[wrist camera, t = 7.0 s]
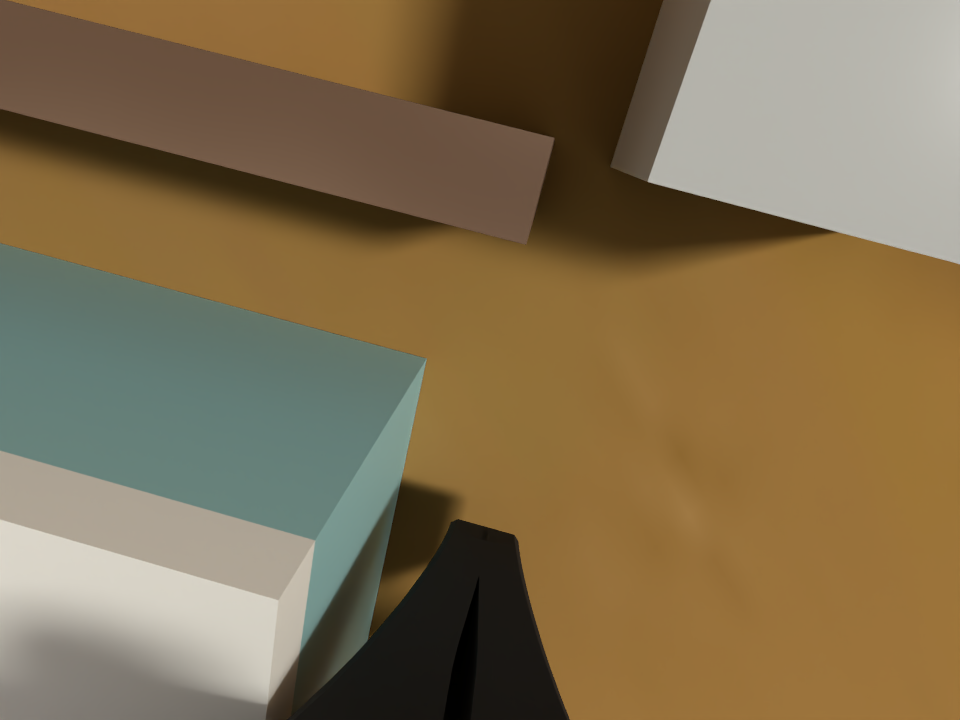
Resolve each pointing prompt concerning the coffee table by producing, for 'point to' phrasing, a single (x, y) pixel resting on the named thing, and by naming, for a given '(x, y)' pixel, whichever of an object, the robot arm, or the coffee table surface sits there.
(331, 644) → the carton
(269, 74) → the display bay
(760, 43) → the stone block
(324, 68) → the coffee table surface
